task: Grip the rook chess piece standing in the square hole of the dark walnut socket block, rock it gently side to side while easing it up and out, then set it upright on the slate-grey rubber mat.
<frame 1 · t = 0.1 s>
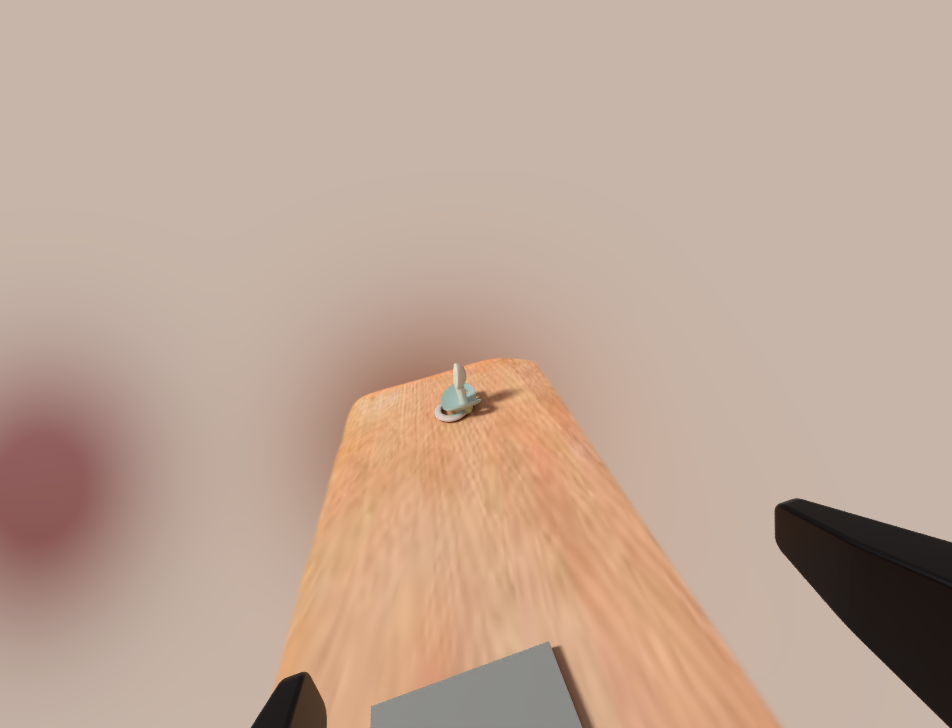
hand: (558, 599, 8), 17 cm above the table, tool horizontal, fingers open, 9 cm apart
pacifier: (458, 412, 56), on the table
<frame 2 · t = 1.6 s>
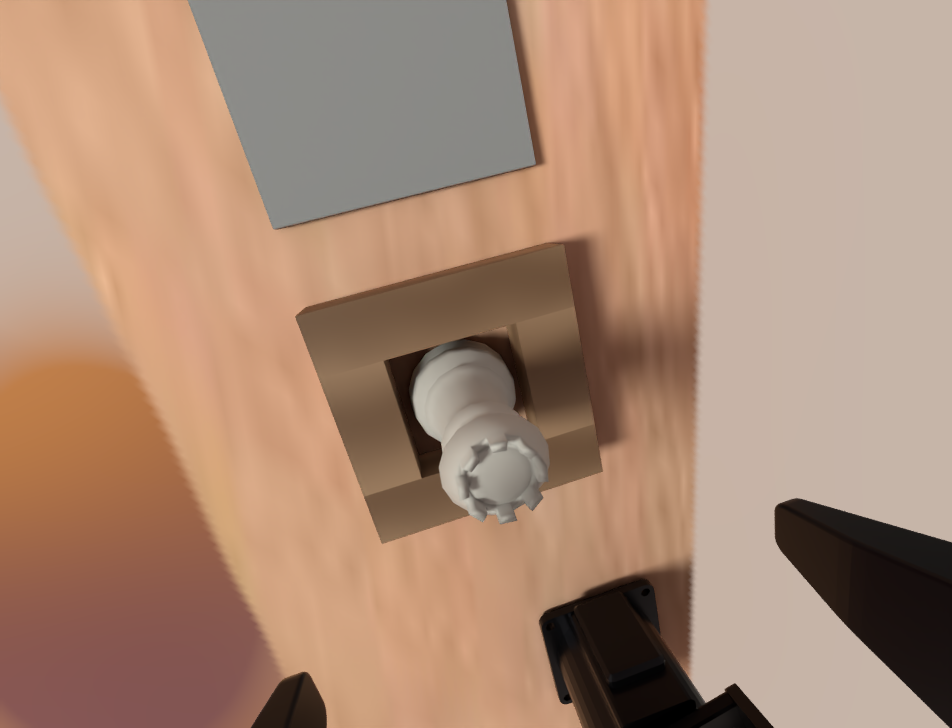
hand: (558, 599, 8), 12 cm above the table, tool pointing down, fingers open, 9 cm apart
socket block: (459, 386, 19), on the table
rook chess piece: (459, 385, 20), resting in socket block
slate mat: (357, 12, 15), on the table
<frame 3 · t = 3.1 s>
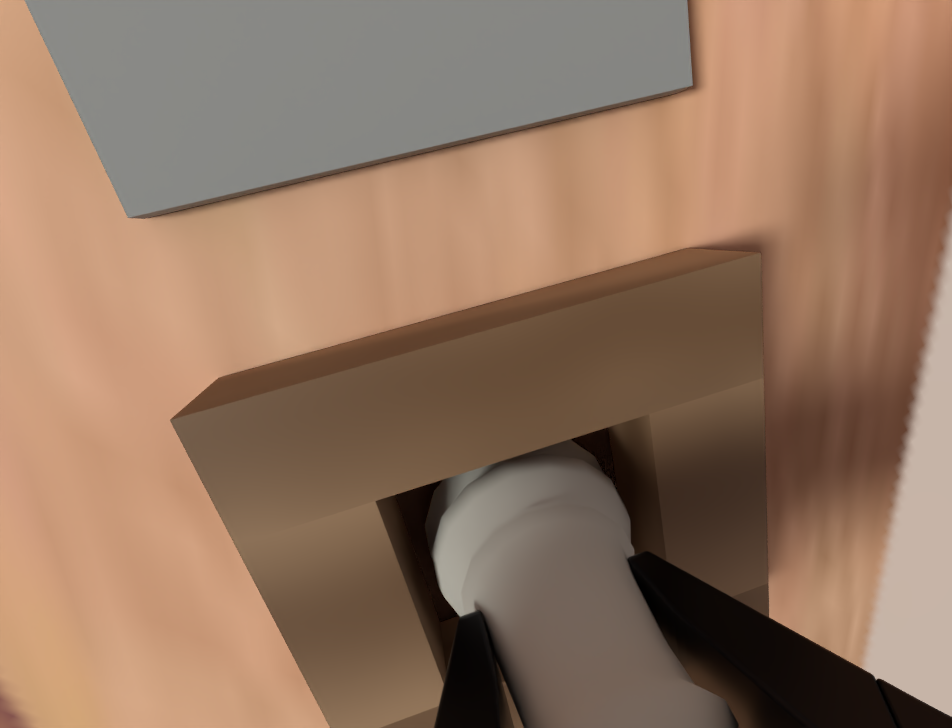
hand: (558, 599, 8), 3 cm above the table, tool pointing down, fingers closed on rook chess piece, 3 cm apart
socket block: (516, 507, 11), on the table
rook chess piece: (513, 502, 11), resting in socket block, touching gripper
when the fingers open (4 cm above the table, at t = 8.3 s): rook chess piece stays where it is, resting on slate mat.
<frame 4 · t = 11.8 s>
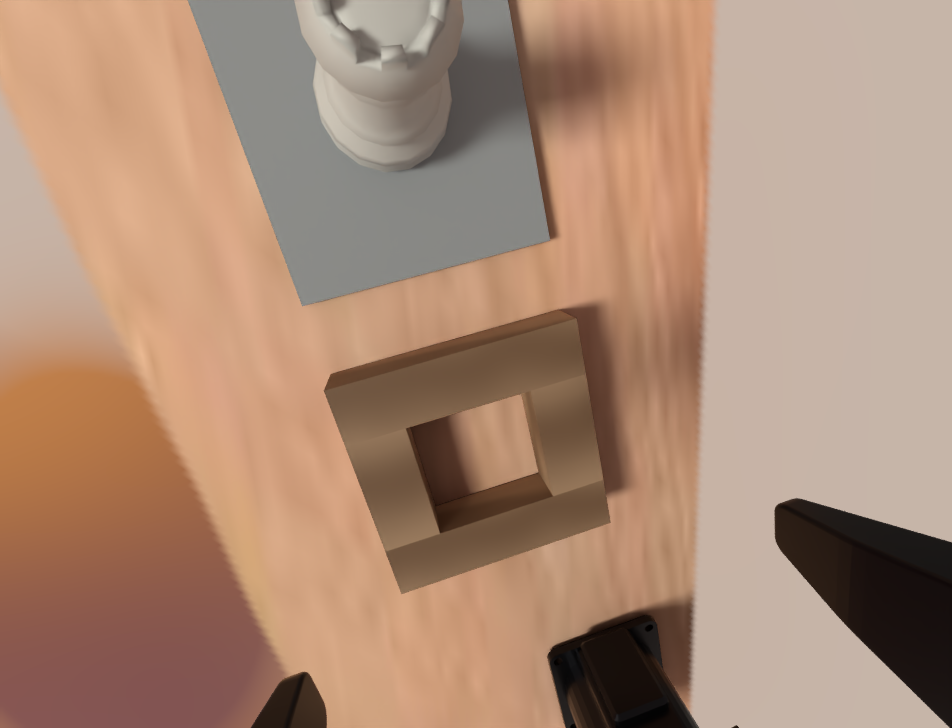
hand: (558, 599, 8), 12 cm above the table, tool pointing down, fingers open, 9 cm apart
socket block: (475, 442, 20), on the table
rook chess piece: (384, 105, 15), resting on slate mat
slate mat: (384, 105, 16), on the table
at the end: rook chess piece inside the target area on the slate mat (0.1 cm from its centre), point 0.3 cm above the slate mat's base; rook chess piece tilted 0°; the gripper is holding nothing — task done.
